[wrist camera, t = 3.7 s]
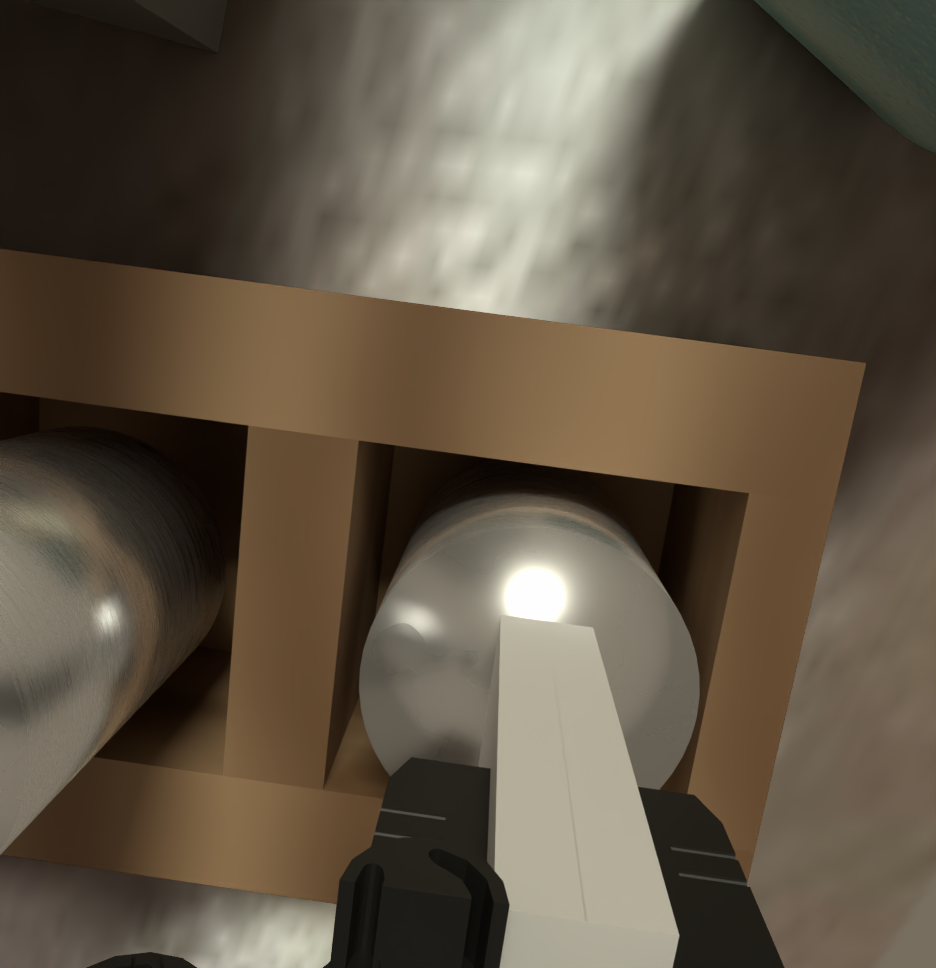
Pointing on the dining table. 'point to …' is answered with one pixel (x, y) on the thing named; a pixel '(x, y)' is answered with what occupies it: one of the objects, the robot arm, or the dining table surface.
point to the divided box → (402, 532)
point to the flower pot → (874, 54)
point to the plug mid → (91, 599)
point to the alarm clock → (155, 17)
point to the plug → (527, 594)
